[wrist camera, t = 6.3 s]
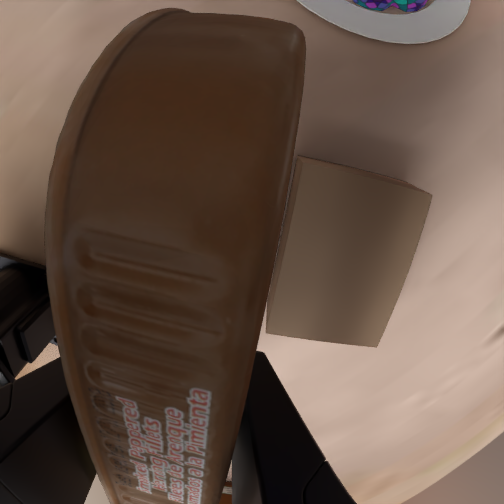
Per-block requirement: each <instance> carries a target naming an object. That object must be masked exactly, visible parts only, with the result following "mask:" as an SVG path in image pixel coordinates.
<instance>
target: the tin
mask: <svg viewBox="0 0 504 504" xmlns="http://www.w3.org/2000/svg"><path fill="white" fill-rule="evenodd" d="M305 59H306V45H305V37H304V34H303V32H302V31H301V30H300V29H299V28H298V27H297V26H295V25H293V24H291V23H287V22H283V21H278V20H274V19H269V18H262V17H254V16H245V15H229V14H215V13H190V12H188V11H186V10H183V9H178V8H165V9H160V10H156V11H152V12H149V13H147V14H145V15H143V16H141V17H139V18H137V19H135V20H134V21H132V22H131V23H129V24H128V25H127V26H126V27H124V28H123V30H122V31H121V32H120V33H119V34H118V35H117V36H116V37H115V38H114V39H113V40H112V41H111V42H110V43H109V44H108V45H107V46H106V48H105V49H104V51H103V52H102V53H101V55H100V57H99V58H98V59H97V60H96V62H95V63H94V64H93V66H92V67H91V69H90V71H89V73H88V74H87V76H86V77H85V79H84V81H83V82H82V84H81V86H80V88H79V90H78V92H77V94H76V96H75V98H74V100H73V102H72V104H71V107H70V109H69V111H68V114H67V117H66V121H65V124H64V126H63V128H62V131H61V133H60V136H59V139H58V142H57V145H56V151H55V156H54V161H53V165H52V168H51V171H50V176H49V184H48V192H47V202H46V211H45V256H46V272H47V284H48V290H49V296H50V303H51V310H52V316H53V322H54V328H55V334H56V339H57V344H58V348H59V353H60V357H61V362H62V367H63V371H64V376H65V380H66V384H67V388H68V391H69V394H70V397H71V401H72V404H73V407H74V410H75V414H76V417H77V420H78V423H79V426H80V429H81V432H82V434H83V437H84V440H85V443H86V446H87V449H88V452H89V454H90V457H91V460H92V462H93V464H94V466H95V469H96V472H97V474H98V477H99V480H100V482H101V484H102V486H103V488H104V490H105V493H106V495H107V497H108V499H109V502H110V504H219V502H220V499H221V496H222V492H223V489H224V485H225V482H226V478H227V475H228V471H229V468H230V464H231V460H232V456H233V453H234V449H235V444H236V440H237V436H238V432H239V428H240V423H241V419H242V415H243V410H244V406H245V402H246V397H247V393H248V388H249V384H250V379H251V374H252V369H253V364H254V359H255V354H256V349H257V344H258V340H259V335H260V331H261V326H262V321H263V316H264V312H265V307H266V302H267V297H268V292H269V287H270V283H271V278H272V273H273V267H274V262H275V257H276V252H277V247H278V241H279V236H280V231H281V226H282V220H283V215H284V209H285V203H286V197H287V191H288V185H289V179H290V173H291V166H292V160H293V154H294V148H295V141H296V135H297V129H298V122H299V115H300V108H301V101H302V93H303V86H304V73H305Z"/></svg>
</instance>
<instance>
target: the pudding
mask: <svg viewBox="0 0 504 504" xmlns="http://www.w3.org/2000/svg"><path fill="white" fill-rule="evenodd" d="M297 1H298V2H299V3H301V4H302V5H303V6H304V7H306V8H307V9H308V10H310V11H312V12H313V13H315V14H317V15H318V16H320V17H322V18H323V19H325V20H326V21H328V22H331V23H333V24H335V25H337V26H339V27H341V28H343V29H345V30H348V31H351V32H354V33H356V34H359V35H362V36H365V37H368V38H372V39H377V40H381V41H385V42H391V43H402V44H416V43H426V42H430V41H434V40H438V39H441V38H443V37H445V36H447V35H449V34H451V33H452V32H453V31H454V30H455V29H457V28H458V27H459V26H460V25H461V23H462V22H463V20H464V19H465V17H466V15H467V13H468V10H469V6H470V2H471V0H435V1H434V2H433V3H432V4H431V5H429V6H428V7H427V8H425V9H423V10H421V11H418V10H419V9H421V8H422V7H424V6H425V4H426V2H427V0H353V1H354V2H355V3H356V4H358V5H360V6H363V7H365V8H367V9H370V10H367V9H365V8H362V7H359V6H356V5H354V4H352V3H350V2H348V1H345V0H297ZM390 6H394V7H396V8H399V9H401V10H403V11H405V12H411V11H418V12H415V13H410V14H397V15H395V14H386V13H379V12H375V11H371V10H378V11H383V10H385V9H387V8H388V7H390Z"/></svg>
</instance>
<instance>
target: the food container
mask: <svg viewBox="0 0 504 504" xmlns="http://www.w3.org/2000/svg"><path fill="white" fill-rule="evenodd" d="M219 504H232V482H229V481H226V482H225V485H224V489H223V492H222V496H221V499H220V502H219Z"/></svg>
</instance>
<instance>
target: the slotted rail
mask: <svg viewBox="0 0 504 504" xmlns="http://www.w3.org/2000/svg"><path fill="white" fill-rule="evenodd" d="M431 199H432V195H431V194H429V193H427V192H425V191H423V190H421V189H419V188H417V187H415V186H413V185H411V184H409V183H407V182H404V181H401V180H397V179H394V178H390V177H386V176H383V175H379V174H375V173H371V172H368V171H364V170H360V169H356V168H352V167H347V166H343V165H339V164H335V163H330V162H326V161H321V160H317V159H312V158H307V157H302V156H297V160H296V165H295V170H294V175H293V180H292V185H291V190H290V195H289V200H288V205H287V210H286V215H285V220H284V225H283V230H282V234H281V239H280V244H279V249H278V253H277V258H276V263H275V267H274V272H273V277H272V281H271V286H270V290H269V295H268V300H267V316H266V333H268V334H274V335H280V336H287V337H294V338H301V339H308V340H316V341H323V342H331V343H340V344H348V345H357V346H367V347H377V346H378V344H379V342H380V339H381V337H382V335H383V333H384V331H385V328H386V326H387V324H388V321H389V319H390V317H391V314H392V312H393V310H394V307H395V305H396V302H397V300H398V297H399V295H400V292H401V290H402V287H403V285H404V282H405V279H406V277H407V274H408V271H409V268H410V266H411V263H412V260H413V257H414V254H415V251H416V248H417V245H418V242H419V239H420V236H421V233H422V230H423V227H424V223H425V220H426V217H427V213H428V210H429V206H430V203H431Z"/></svg>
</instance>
